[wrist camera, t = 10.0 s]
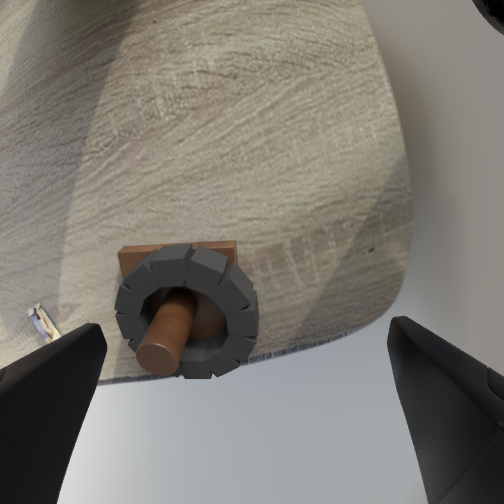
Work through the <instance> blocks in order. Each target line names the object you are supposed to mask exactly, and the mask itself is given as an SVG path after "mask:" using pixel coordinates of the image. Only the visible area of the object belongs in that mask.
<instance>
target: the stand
mask: <svg viewBox="0 0 504 504" xmlns="http://www.w3.org/2000/svg"><path fill="white" fill-rule="evenodd" d="M178 244H189V243H178ZM178 244H159V245H141V246H124V247H123V248H122V249H121V250H120V251H119V252H118V258H119V262H120V266H121V271H122V275H123V279H124V278H125V277H126V276H127V275H128V273H129V272H130V271H131V270H132V269H133V268H134V267H135V265H136V264H137V263H139V262H140V261H141V260H142V259H143V258H145V257H146V256H147V255H148V254H150V253H151V252H152V251H153V250H155V249H157V250H158V251H159V250H160V249H161V247H162V246H168V245H178ZM191 244H192V248H193V253H194V252H195V250H196V249H197V247H198V245H202V246H204V247H207V248H209V249H211V250H214V251H216V252H218V253H221V254H223V255H226V256H228V260H227V263H226V266H228V265H229V264H231V263H232V262H234V261H235V262H236V264H237V265H238V260H237V249H236V241H217V242H197V243H191ZM150 301H151V304H152V308H153V311H154V314H155V317H154V319H153V321H152V322H151V324H150V326H149V328H148V330H147V332H146V334H145V335H144V337H143V339H142V341H141V343H140V345H139V347H138V349H137V351H136V357H137V360H138V362H139V364H140V365H141V367H142V368H144V369H145V370H146V371H148V372H149V373H151V374H154V375H157V376H169V375H171V374H173V373H174V372H175V371H176V370H177V368H178V365H179V362H180V359H181V357H182V354H183V351H184V348H185V345H186V342H187V340H209V339H210V338H212V337H214V336H216V335H218V334H219V333H221V332H223V331H224V330H225V328H226V326H227V323H226V318H225V314H224V313H223V312H222V311H221V310H220V309H219V308H218V306H217V305H216V304H215V303H214V302H213V301H212V300H211V298H210V297H209V296H206V295H204V294H202V293H199V292H197V291H194V290H192V289H190V288H187V287H185V286H182V287H165V288H160V289H159V290H157V291H156V292H154V293H153V294H152V296H151V300H150Z"/></svg>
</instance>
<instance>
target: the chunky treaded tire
mask: <svg viewBox="0 0 504 504" xmlns="http://www.w3.org/2000/svg"><path fill="white" fill-rule="evenodd" d="M227 260H228V256H226V255H223V254H221V253H218V252H216V251H214V250H211V249H209V248H207V247H204V246H202V245H198V247H197V249H196V250H195V252H194V253H193V248H192V244H191V243H189V244H178V245H168V246H162V247H161V249H160V250H159V251H158V250H157V249H155V250H153V251H152V252H151V253H150V254H148V255H147V256H146V257H145V258H143V259H142V260H141V261H140V262H139V263H137V264H136V265H135V267H134V268H133V269H132V270H131V271H130V272H129V273H128V275H127V276H126V277H125V278H124V280H123V282H122V283H121V284H120V286H119V290H118V294H117V299H116V303H115V308H114V309H115V310H117V311H118V312H117V313H116V315H115V317H116V320H117V322H118V325H119V328H120V330H121V333H122V336H123V338H124V339H130V341H129V343H128V346H129V347H130V348H131V349H132V350H133V351H134V352H135V353H136V351H137V349H138V347H139V345H140V343H141V341H142V339H143V337H144V335H145V334H146V332H147V330H148V328H149V326H150V324H151V322H152V321H153V319H154V317H155V314H154V311H153V308H152V304H151V301H150V300H151V296H152V294H153V293H154V292H156V291H157V290H159V289H160V288H165V287H182V286H185V287H187V288H190V289H192V290H194V291H197V292H199V293H202V294H204V295H206V296H209V297H210V298H211V300H212V301H213V302H214V303H215V304H216V305H217V306H218V308H219V309H220V310H221V311H222V312H223V313H224V314H225V318H226V323H227V326H226V328H225V330H224V331H223V332H221V333H219V334H218V335H216V336H214V337H212V338H210V339H209V340H187V342H186V345H185V348H184V351H183V354H182V357H181V359H180V362H179V365H178V368H177V370H176V371H175V372H174V373H173V374H171V375H173V376H175V377H179V374H180V372H181V370H182V373H183V376H184V378H185V379H211V377H212V373H213V374H214V375H215V376H216V377H219V376H222V375H224V374H225V373H228V372H230V371H232V370H234V369H236V368H238V367H239V366H240V361H241V362H245V361H246V359H247V357H248V356H249V354H250V352H251V351H252V349H253V347H254V345H255V344H256V339H257V336H258V323H259V312H258V303H257V295H256V291H255V290H254V291H252V290H253V283H252V282H251V281H250V280H249V278H248V277H247V276H246V275H245V274H244V272H243V271H242V270H241V269H240V267H239V266H238V265H237V264H236V262H235V261H234V262H232V263H231V264H229V265H228V266H226V263H227Z"/></svg>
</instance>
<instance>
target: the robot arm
mask: <svg viewBox="0 0 504 504" xmlns="http://www.w3.org/2000/svg"><path fill="white" fill-rule="evenodd" d="M484 3H485V7H486V11H487V14H488V15H489V16H490V17H491V18H493V19H495V20H498V21H500V22H502V23H504V0H484ZM491 11H492V12H491ZM387 346H388V352H389V356H390V361H391V365H392V370H393V375H394V380H395V384H396V389H397V392H398V396H399V399H400V401H401V405H402V408H403V411H404V415H405V417H406V421H407V424H408V427H409V431H410V434H411V438H412V442H413V445H414V449H415V452H416V455H417V459H418V463H419V467H420V471H421V475H422V479H423V483H424V487H425V491H426V496H427V500H428V504H504V376H502V375H500V374H499V373H497V372H496V371H494V370H493V369H491V368H489V367H488V368H487V366H486V365H485V364H483V363H481V362H480V361H478V360H476V359H475V358H473V357H472V356H470V355H469V354H467V353H465V352H464V351H462V350H460V349H459V348H457V347H456V346H454V345H452V344H451V343H449V342H447V341H446V340H444V339H442V338H441V337H439V336H438V335H436V334H434V333H433V332H431V331H429V330H428V329H426V328H424V327H423V326H421V325H420V324H417V323H416V322H414V321H413V320H411V319H410V318H408V317H406V316H400V317H393V318H392V320H391V323H390V328H389V334H388V340H387ZM106 353H107V343H106V340H105V337H104V335H103V332H102V329H101V327H100V325H99V324H97V323H86V324H84V325H82V326H81V327H79V328H77V329H75V330H73V331H71V332H69V333H67V334H65V335H64V336H62V337H60V338H58V339H56V340H54V341H52V342H50V343H49V344H47V345H45V346H43V347H41V348H39V349H37V350H36V351H34V352H32V353H30V354H28V355H26V356H24V357H23V358H21V359H19V360H17V361H15V362H13V363H11V364H10V365H8V366H6V367H4V368H2V369H0V504H57V501H58V498H59V494H60V493H59V492H60V490H61V487H62V483H63V480H64V477H65V474H66V471H67V467H68V464H69V461H70V458H71V455H72V452H73V449H74V446H75V443H76V441H77V438H78V435H79V432H80V429H81V427H82V423H83V421H84V418H85V416H86V413H87V410H88V408H89V405H90V402H91V400H92V397H93V395H94V392H95V389H96V386H97V383H98V380H99V376H100V373H101V369H102V366H103V363H104V359H105V356H106Z"/></svg>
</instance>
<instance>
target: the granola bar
mask: <svg viewBox="0 0 504 504" xmlns="http://www.w3.org/2000/svg"><path fill="white" fill-rule="evenodd" d="M27 312H28V314H29V318H30V320H31V321H32V323H33V324H34V326H35V327H36V329H37V330H38V332H39V333H40V335H41V336H42V338H43V339H44V341H45V342H46V343H47V344H49V343H50V342H52V341H54V340H56V339H58V338H60V337H61V335H60V334H59V332H58V331H57V329H56V328H55V326H54V325H53V324H52V322H51V321H50V319H49V318H48V316H47V314H46V313H45V311H44V310H43V308H40V304H39V303H38V302H37V303H36V304H35V305H33V306H31V307H28V308H27Z"/></svg>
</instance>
